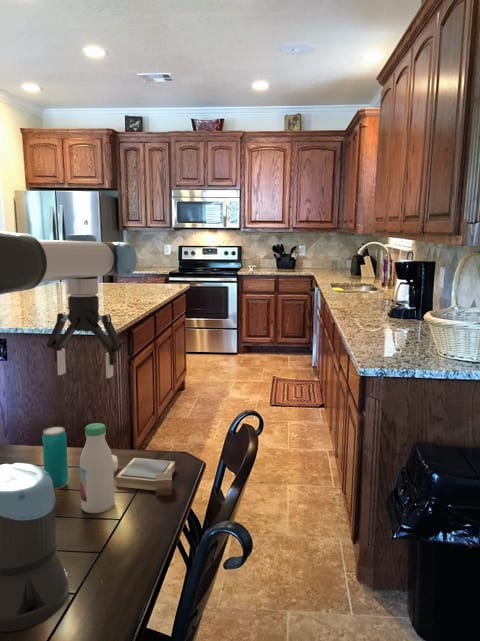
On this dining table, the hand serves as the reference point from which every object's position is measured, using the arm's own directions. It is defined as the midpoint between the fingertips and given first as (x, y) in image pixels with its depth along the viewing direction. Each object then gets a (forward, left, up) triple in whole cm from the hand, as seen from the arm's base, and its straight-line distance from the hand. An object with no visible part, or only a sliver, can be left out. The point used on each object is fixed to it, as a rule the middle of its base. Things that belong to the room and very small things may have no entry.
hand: (85, 375), depth 131 cm
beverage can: (-8, +5, -28) cm, 29 cm away
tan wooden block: (-5, -23, -28) cm, 36 cm away
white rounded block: (+3, -3, -28) cm, 28 cm away
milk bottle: (-15, -10, -28) cm, 33 cm away
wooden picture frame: (+1, -16, -28) cm, 32 cm away
